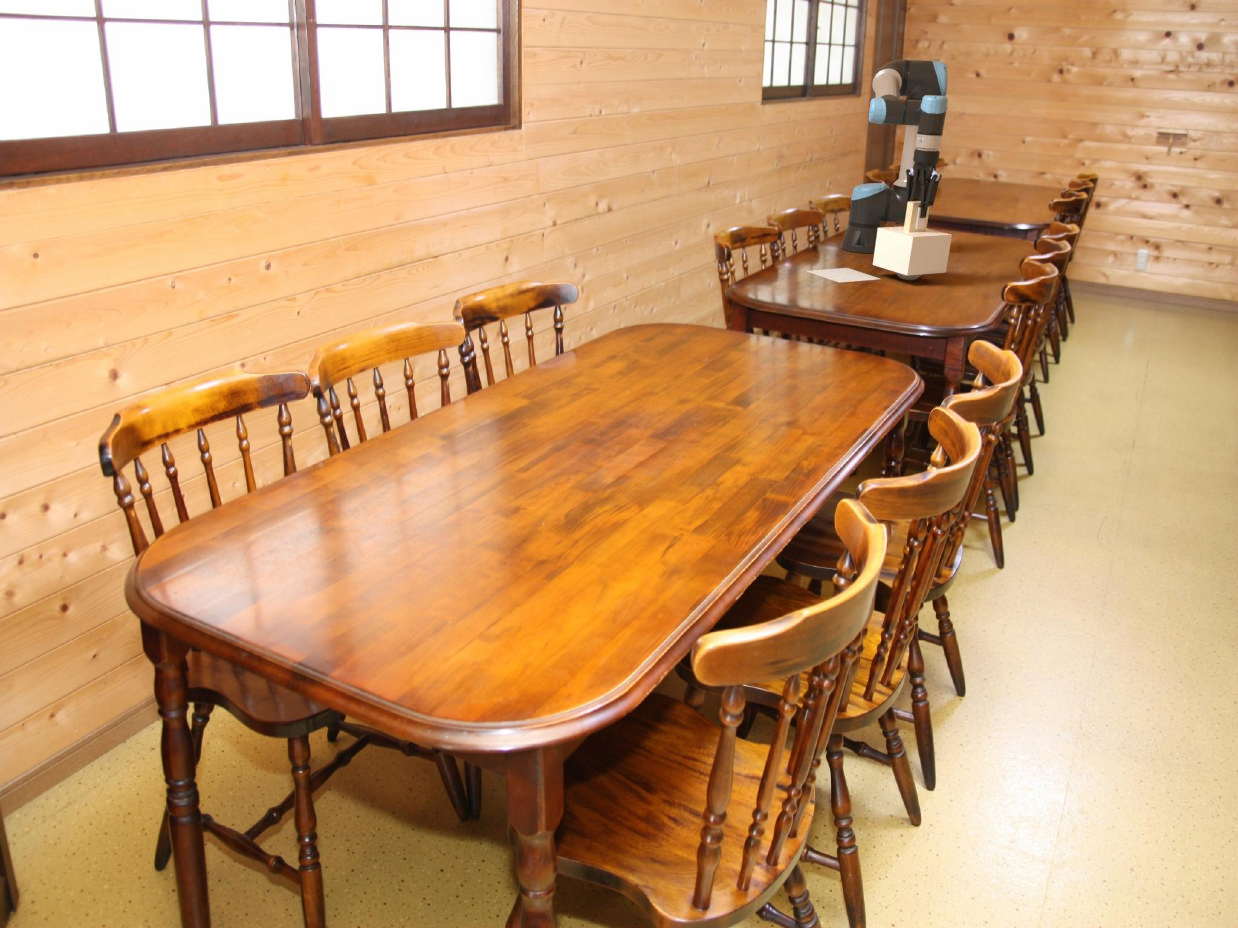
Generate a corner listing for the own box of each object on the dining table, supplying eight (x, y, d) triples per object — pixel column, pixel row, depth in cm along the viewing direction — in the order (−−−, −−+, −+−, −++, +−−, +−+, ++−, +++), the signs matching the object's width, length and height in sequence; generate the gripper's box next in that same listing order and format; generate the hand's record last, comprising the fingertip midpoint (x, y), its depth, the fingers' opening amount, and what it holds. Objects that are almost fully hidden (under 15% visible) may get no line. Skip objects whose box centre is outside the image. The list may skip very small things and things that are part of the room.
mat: (805, 272, 333) (805, 270, 333) (846, 269, 341) (847, 267, 341) (839, 284, 320) (839, 282, 320) (881, 280, 327) (881, 278, 327)
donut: (890, 279, 330) (894, 247, 326) (893, 277, 333) (898, 246, 329) (920, 284, 325) (925, 252, 321) (924, 282, 328) (929, 250, 324)
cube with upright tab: (872, 264, 330) (882, 198, 322) (910, 262, 338) (920, 197, 330) (907, 275, 317) (917, 206, 309) (945, 272, 325) (957, 205, 317)
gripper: (900, 146, 318) (889, 223, 327) (936, 152, 306) (923, 232, 315) (918, 146, 321) (907, 222, 330) (955, 152, 309) (942, 231, 318)
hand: (915, 227), depth 323 cm, fingers closed on cube with upright tab, 2 cm apart
